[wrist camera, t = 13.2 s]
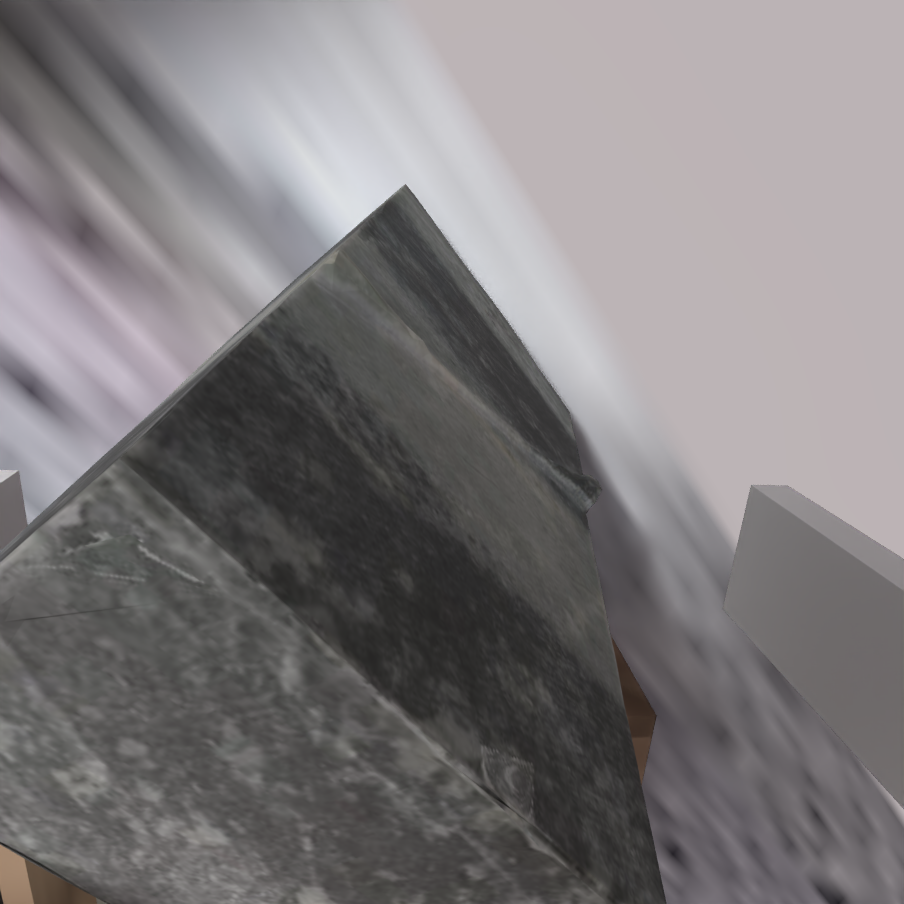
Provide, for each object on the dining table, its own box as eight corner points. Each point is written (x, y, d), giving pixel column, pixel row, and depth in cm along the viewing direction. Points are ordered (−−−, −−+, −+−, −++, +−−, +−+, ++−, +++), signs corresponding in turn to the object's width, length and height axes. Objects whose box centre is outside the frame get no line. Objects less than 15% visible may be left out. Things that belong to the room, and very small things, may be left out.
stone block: (468, 508, 21) (609, 429, 19) (384, 1110, 9) (753, 1058, 7) (279, 288, 18) (424, 167, 16) (-252, 742, 6) (93, 465, 4)
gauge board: (-285, 636, 20) (-488, 768, 15) (605, 625, 23) (663, 728, 19) (-154, 987, 25) (-274, 1164, 20) (552, 933, 29) (587, 1072, 24)
